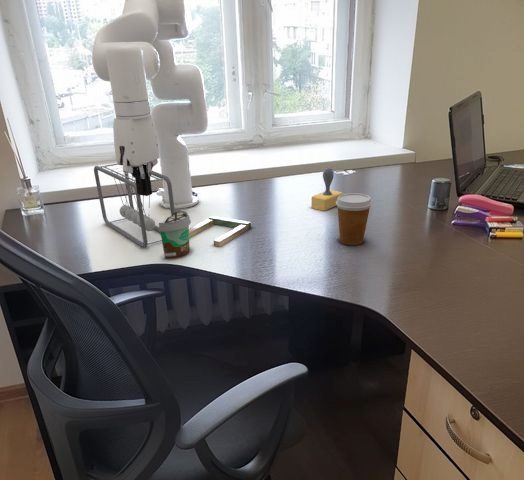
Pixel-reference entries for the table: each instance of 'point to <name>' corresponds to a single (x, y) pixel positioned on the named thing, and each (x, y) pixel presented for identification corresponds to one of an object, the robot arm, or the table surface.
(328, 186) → the rubber stamp
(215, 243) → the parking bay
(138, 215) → the newton's cradle
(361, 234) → the disposable coffee cup
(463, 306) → the table surface
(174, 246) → the food container
